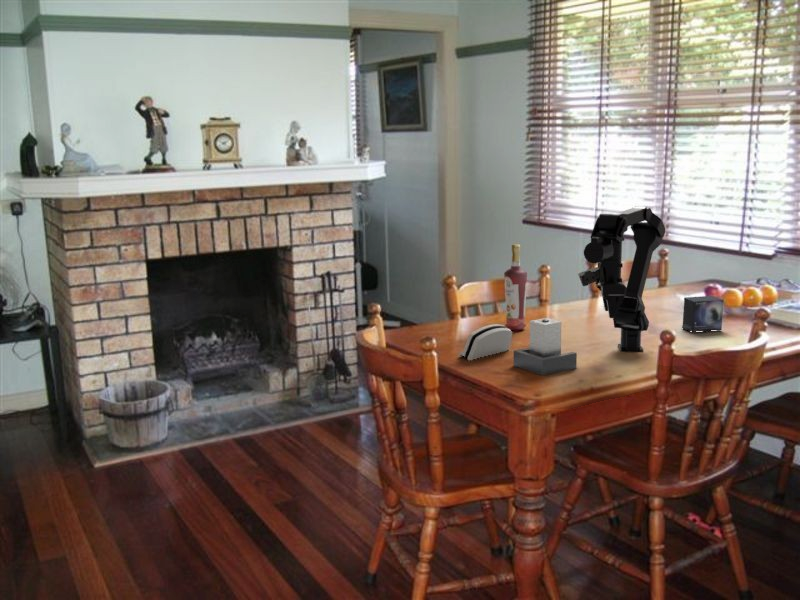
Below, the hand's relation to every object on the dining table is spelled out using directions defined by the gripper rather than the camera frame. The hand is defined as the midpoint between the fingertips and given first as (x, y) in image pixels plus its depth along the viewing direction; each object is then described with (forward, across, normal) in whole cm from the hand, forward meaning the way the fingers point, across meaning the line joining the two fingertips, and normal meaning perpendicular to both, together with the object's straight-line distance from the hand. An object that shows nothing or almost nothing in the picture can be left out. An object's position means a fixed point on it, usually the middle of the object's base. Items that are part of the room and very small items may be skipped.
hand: (609, 314), depth 224 cm
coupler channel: (+13, +8, -18) cm, 24 cm away
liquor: (+13, -36, -25) cm, 46 cm away
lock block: (+12, +8, -18) cm, 23 cm away
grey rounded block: (+13, -5, -34) cm, 37 cm away
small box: (+13, -36, +34) cm, 51 cm away
